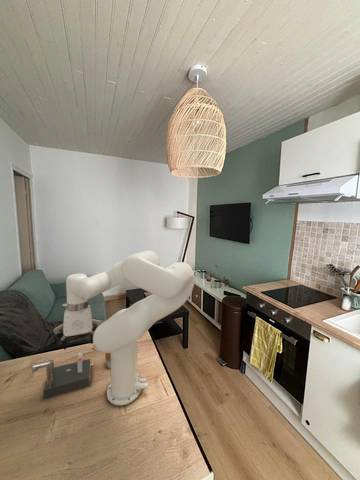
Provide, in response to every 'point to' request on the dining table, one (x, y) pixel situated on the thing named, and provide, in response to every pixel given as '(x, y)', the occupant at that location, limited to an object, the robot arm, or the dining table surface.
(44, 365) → the spout
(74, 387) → the base
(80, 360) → the tap handle
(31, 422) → the dining table surface
